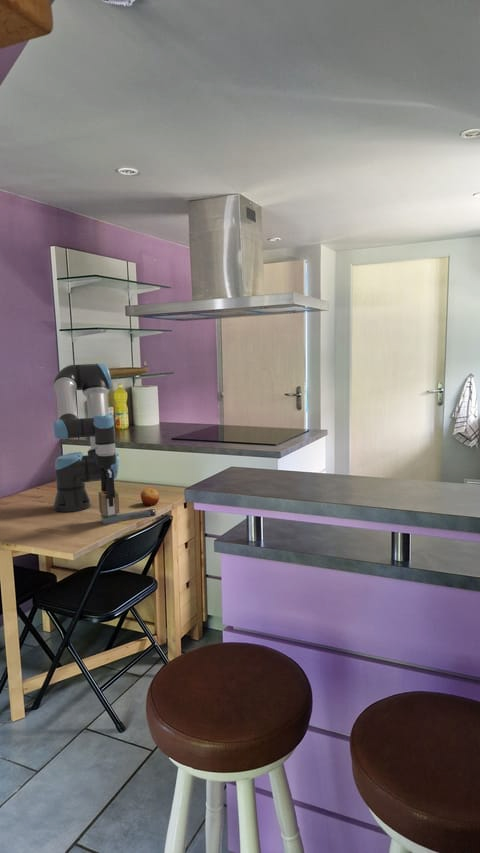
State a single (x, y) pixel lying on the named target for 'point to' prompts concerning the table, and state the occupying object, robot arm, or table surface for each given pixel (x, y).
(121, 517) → the grey lever handle
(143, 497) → the fruit
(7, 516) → the table surface
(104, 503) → the socket collar
